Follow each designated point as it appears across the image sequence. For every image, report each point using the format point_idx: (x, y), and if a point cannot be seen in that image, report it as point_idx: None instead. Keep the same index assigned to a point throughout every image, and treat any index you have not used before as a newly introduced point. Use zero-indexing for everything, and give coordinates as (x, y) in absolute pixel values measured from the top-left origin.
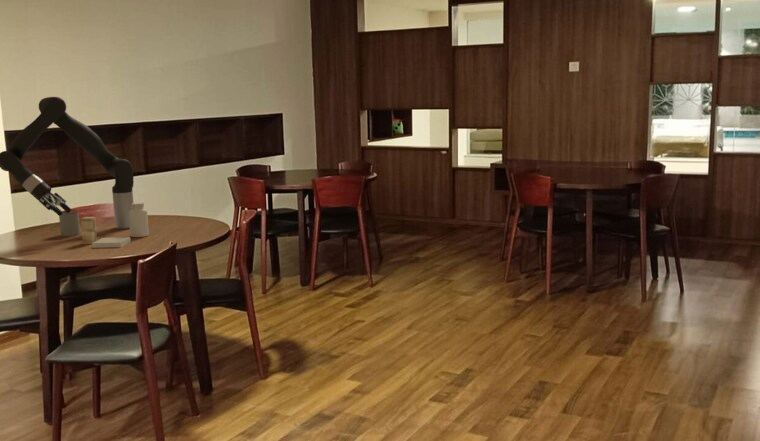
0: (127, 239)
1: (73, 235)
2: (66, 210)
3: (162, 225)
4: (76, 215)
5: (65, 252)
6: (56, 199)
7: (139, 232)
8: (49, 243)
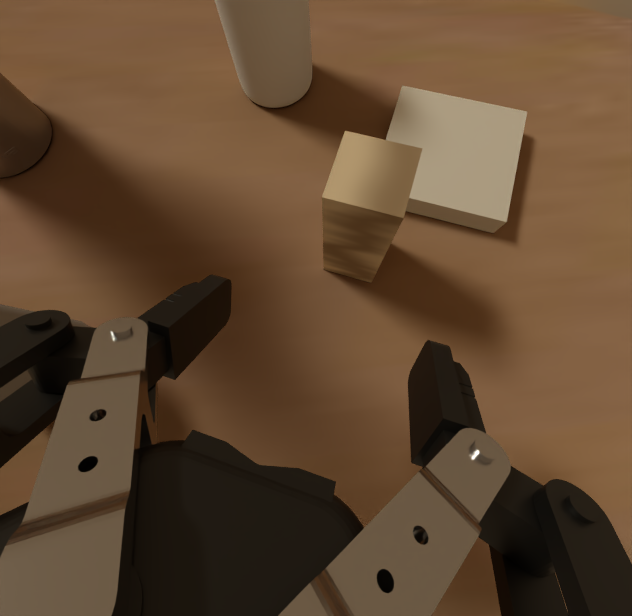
0: (438, 96)
1: None
2: (214, 327)
3: (64, 22)
4: None
5: (577, 342)
6: (160, 471)
7: (311, 56)
8: (279, 455)
